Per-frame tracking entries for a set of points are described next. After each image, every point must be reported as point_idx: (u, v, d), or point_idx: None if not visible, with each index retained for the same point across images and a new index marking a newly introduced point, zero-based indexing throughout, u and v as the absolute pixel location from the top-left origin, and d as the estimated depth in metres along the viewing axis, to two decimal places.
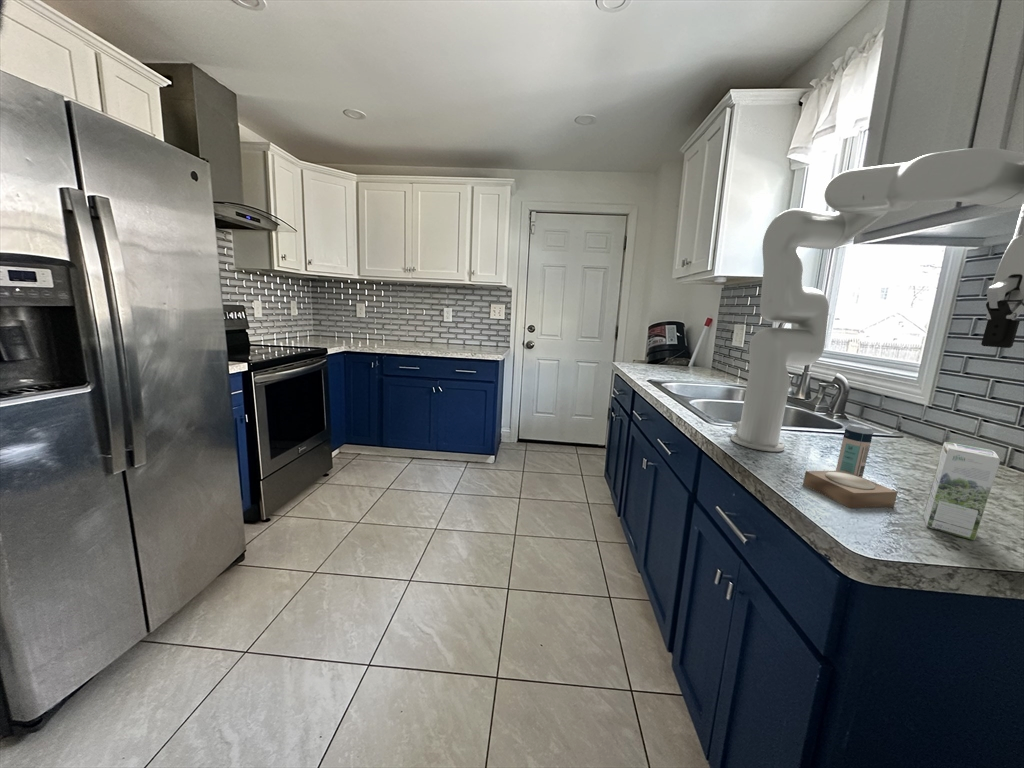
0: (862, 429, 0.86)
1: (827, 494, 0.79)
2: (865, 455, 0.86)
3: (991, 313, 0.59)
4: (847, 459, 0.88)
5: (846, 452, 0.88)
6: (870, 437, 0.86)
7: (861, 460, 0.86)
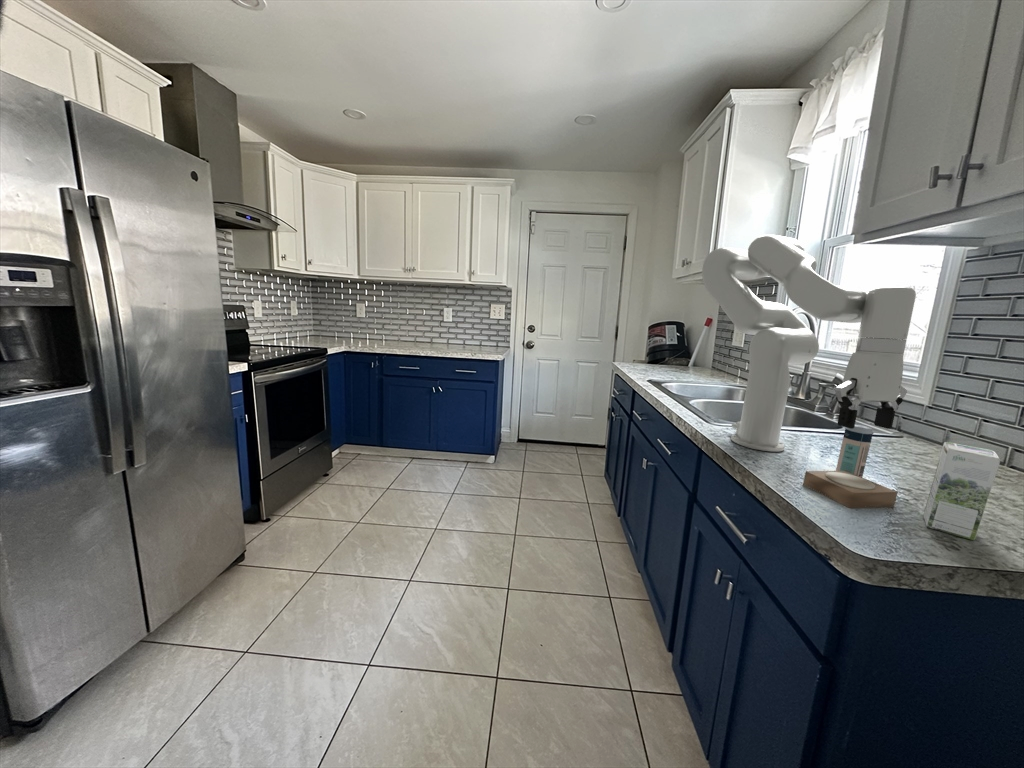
0: (862, 429, 0.86)
1: (827, 494, 0.79)
2: (865, 455, 0.86)
3: (840, 404, 0.85)
4: (847, 459, 0.88)
5: (846, 452, 0.88)
6: (870, 437, 0.86)
7: (861, 460, 0.86)
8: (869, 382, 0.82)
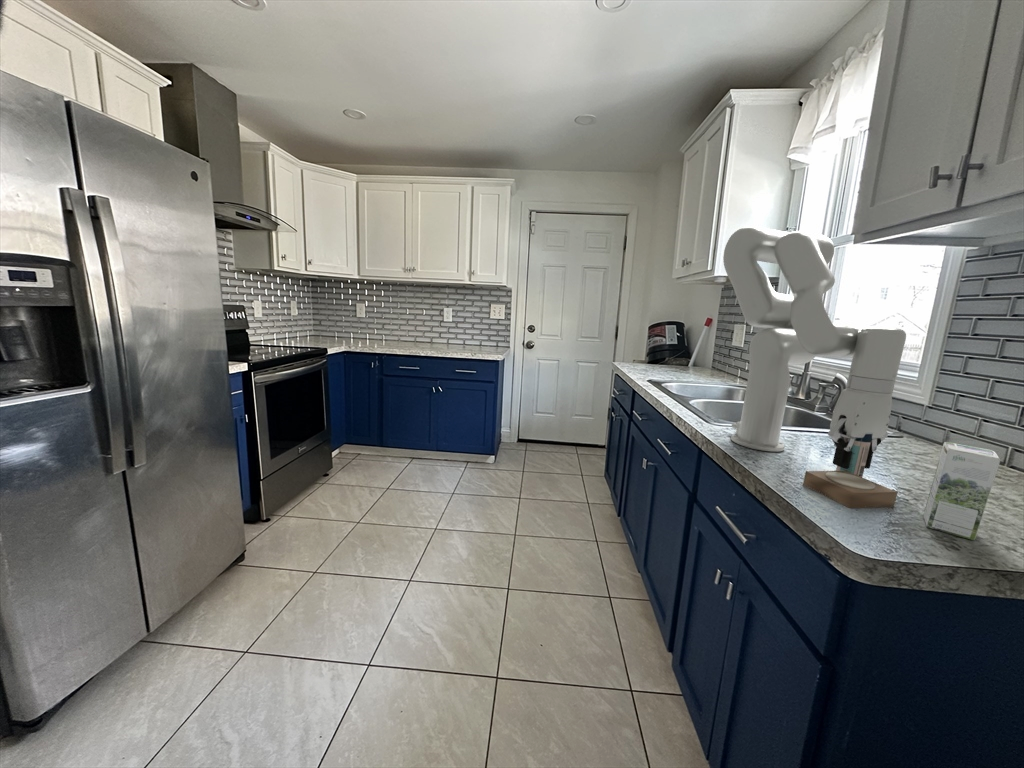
0: None
1: (827, 494, 0.79)
2: (865, 455, 0.86)
3: (836, 444, 0.88)
4: None
5: None
6: (870, 437, 0.86)
7: (861, 460, 0.86)
8: (858, 420, 0.84)
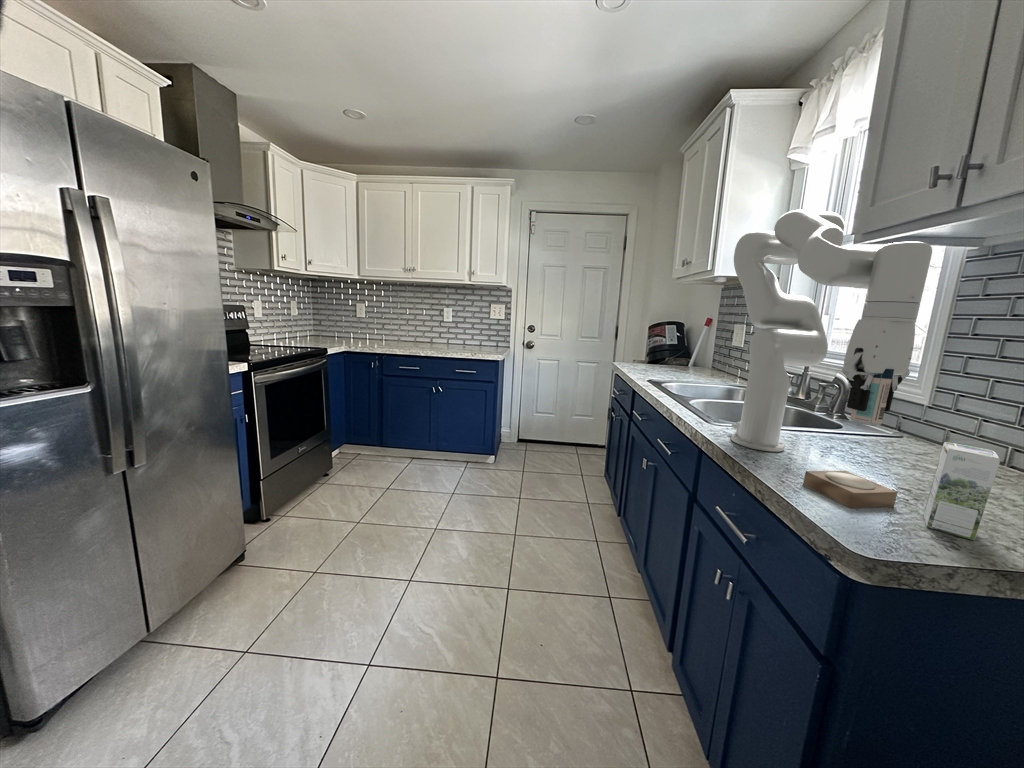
0: None
1: (827, 494, 0.79)
2: (885, 394, 0.74)
3: (851, 383, 0.76)
4: None
5: None
6: (891, 373, 0.74)
7: (881, 400, 0.74)
8: (877, 351, 0.72)
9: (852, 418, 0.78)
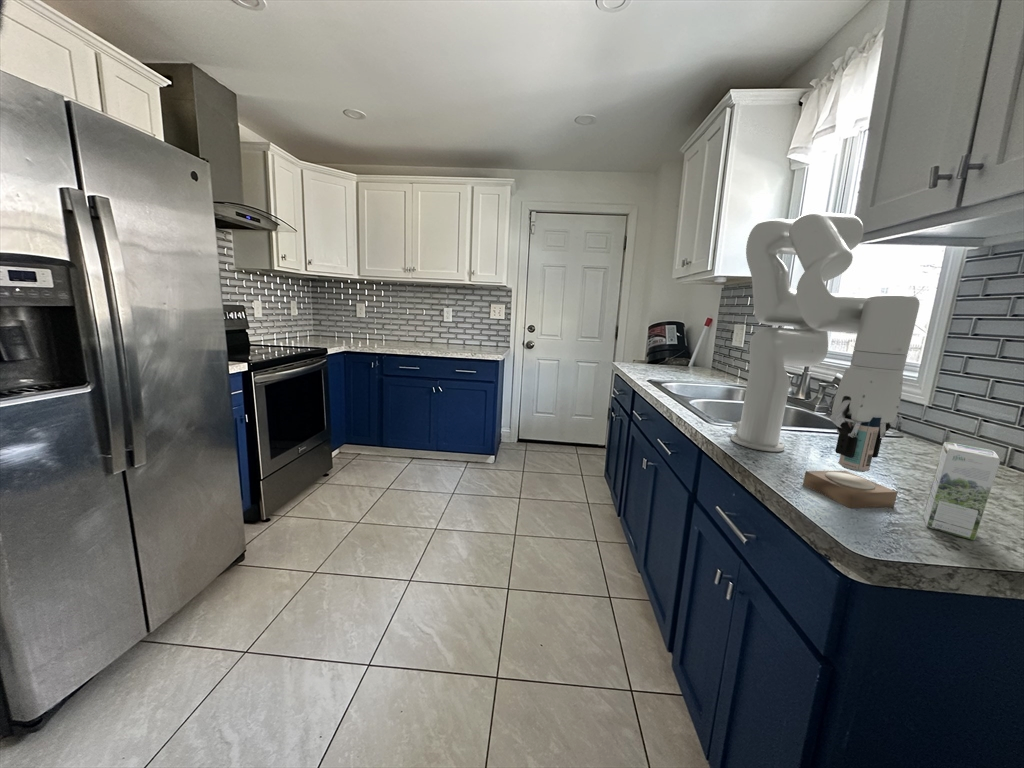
0: None
1: (827, 494, 0.79)
2: (873, 442, 0.75)
3: (839, 430, 0.77)
4: None
5: None
6: (878, 421, 0.75)
7: (869, 448, 0.76)
8: (864, 401, 0.73)
9: (840, 463, 0.79)
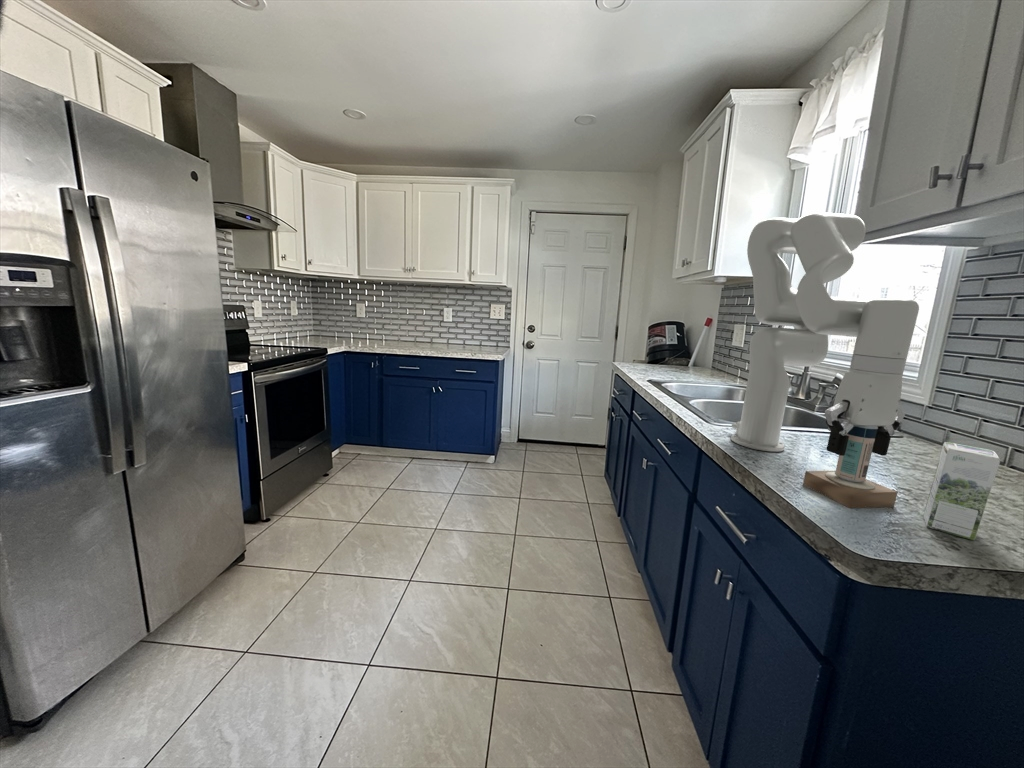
0: None
1: (827, 494, 0.79)
2: (869, 453, 0.76)
3: (830, 428, 0.77)
4: (848, 457, 0.78)
5: (847, 450, 0.78)
6: (874, 432, 0.76)
7: (865, 459, 0.76)
8: (863, 405, 0.74)
9: (837, 474, 0.80)
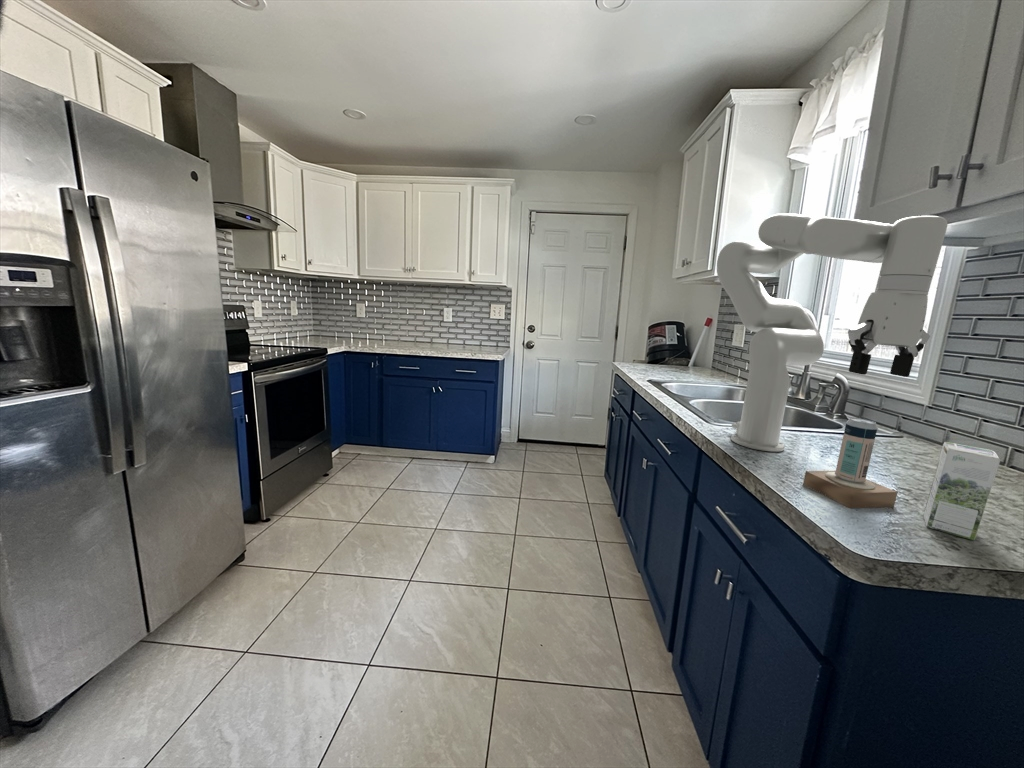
0: (865, 424, 0.76)
1: (827, 494, 0.79)
2: (869, 453, 0.76)
3: (853, 348, 0.79)
4: (848, 458, 0.78)
5: (847, 450, 0.78)
6: (874, 433, 0.75)
7: (864, 459, 0.76)
8: (887, 323, 0.76)
9: (837, 474, 0.80)
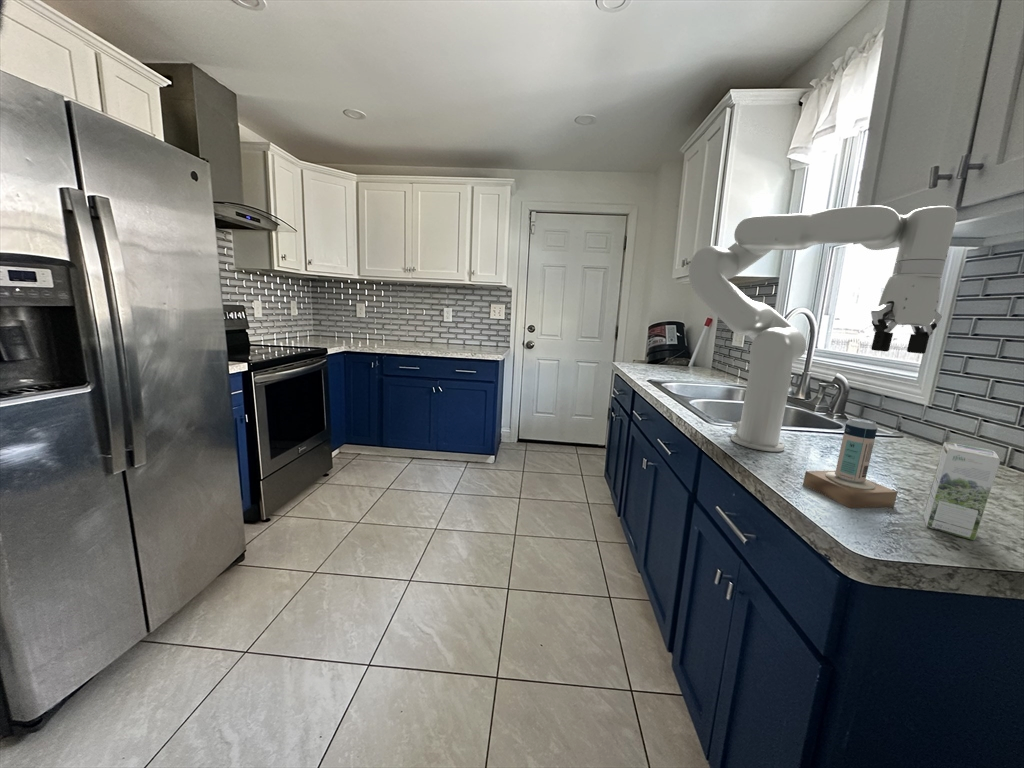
0: (865, 424, 0.76)
1: (827, 494, 0.79)
2: (869, 453, 0.76)
3: (875, 327, 0.86)
4: (848, 458, 0.78)
5: (847, 450, 0.78)
6: (874, 433, 0.76)
7: (865, 459, 0.76)
8: (906, 303, 0.83)
9: (837, 474, 0.80)
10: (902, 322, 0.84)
